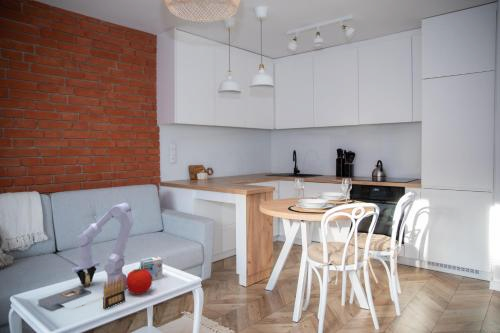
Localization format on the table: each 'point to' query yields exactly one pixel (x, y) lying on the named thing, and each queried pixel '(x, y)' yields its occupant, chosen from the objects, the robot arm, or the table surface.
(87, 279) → the brass peg
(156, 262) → the light bulb box
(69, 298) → the plate
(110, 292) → the ammunition clip
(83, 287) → the gray square block
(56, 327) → the table surface
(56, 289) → the table surface
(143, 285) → the tomato
